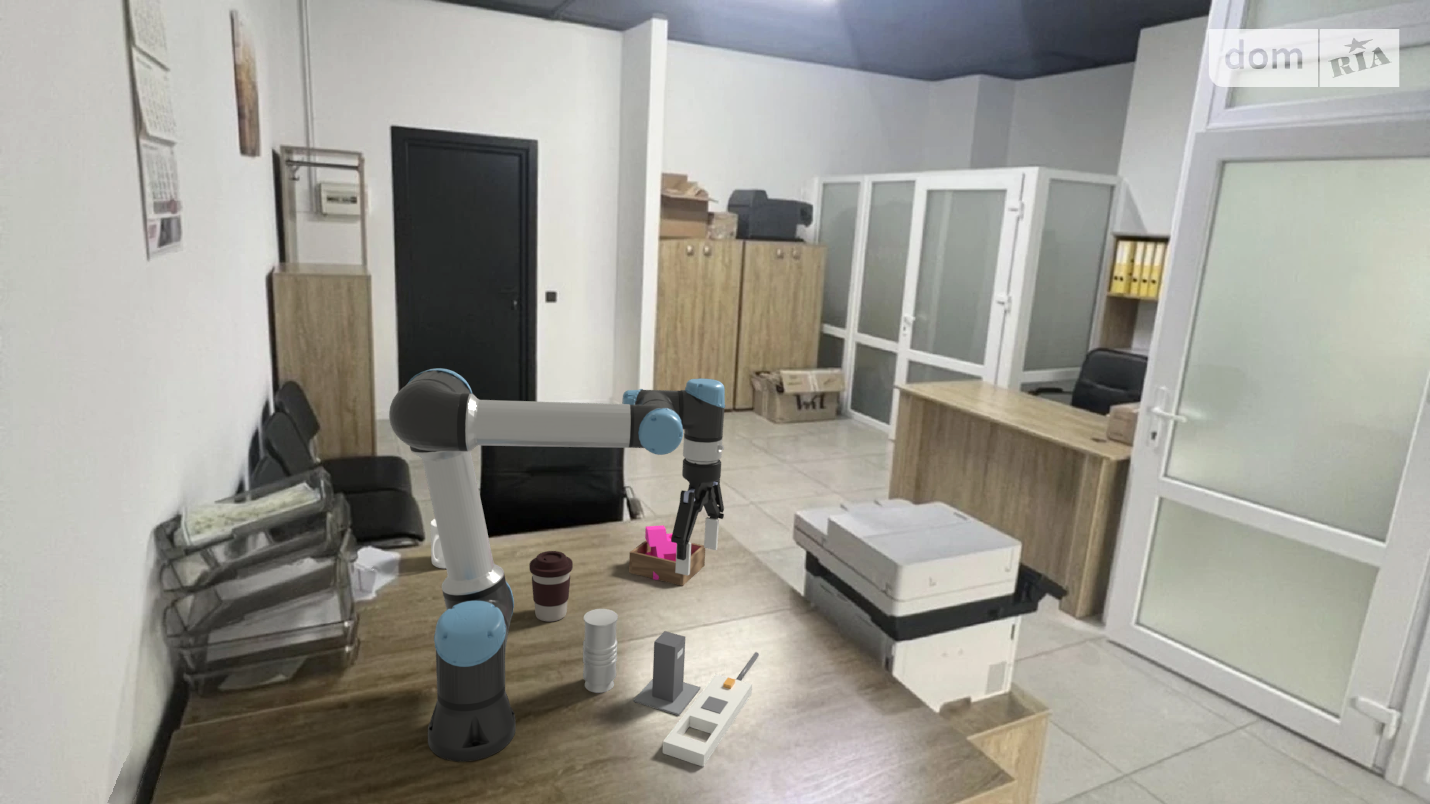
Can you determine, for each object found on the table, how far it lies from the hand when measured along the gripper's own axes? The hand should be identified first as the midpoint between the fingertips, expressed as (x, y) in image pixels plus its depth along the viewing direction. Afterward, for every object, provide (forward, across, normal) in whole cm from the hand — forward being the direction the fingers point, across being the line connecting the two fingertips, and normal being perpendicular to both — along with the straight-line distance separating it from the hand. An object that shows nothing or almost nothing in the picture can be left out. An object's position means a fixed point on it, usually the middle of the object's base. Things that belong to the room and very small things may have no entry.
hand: (697, 560), depth 153 cm
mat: (+27, -7, +2) cm, 28 cm away
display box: (+27, +45, +28) cm, 59 cm away
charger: (+26, -7, +2) cm, 27 cm away
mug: (+27, +19, +81) cm, 87 cm away
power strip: (+27, -4, -9) cm, 28 cm away
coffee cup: (+27, +9, +41) cm, 50 cm away
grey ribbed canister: (+27, -10, +16) cm, 33 cm away
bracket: (+27, +45, +28) cm, 59 cm away
